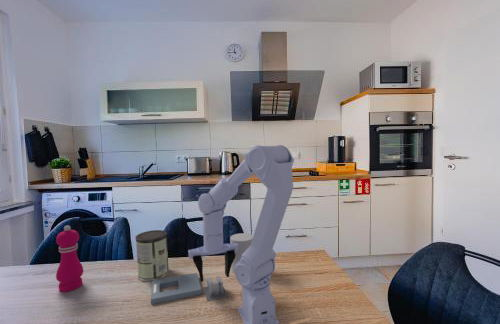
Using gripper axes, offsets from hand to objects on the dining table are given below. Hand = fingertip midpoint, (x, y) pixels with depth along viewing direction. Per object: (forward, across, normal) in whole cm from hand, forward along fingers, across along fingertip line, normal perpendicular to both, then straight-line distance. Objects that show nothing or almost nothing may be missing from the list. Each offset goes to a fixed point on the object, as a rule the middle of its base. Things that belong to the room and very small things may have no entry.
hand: (214, 277), depth 77 cm
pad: (+5, 0, 0) cm, 5 cm away
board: (+5, +11, -6) cm, 13 cm away
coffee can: (+5, +18, -20) cm, 27 cm away
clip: (+4, 0, 0) cm, 4 cm away
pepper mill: (+5, +43, -21) cm, 48 cm away
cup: (+5, -12, -11) cm, 17 cm away
